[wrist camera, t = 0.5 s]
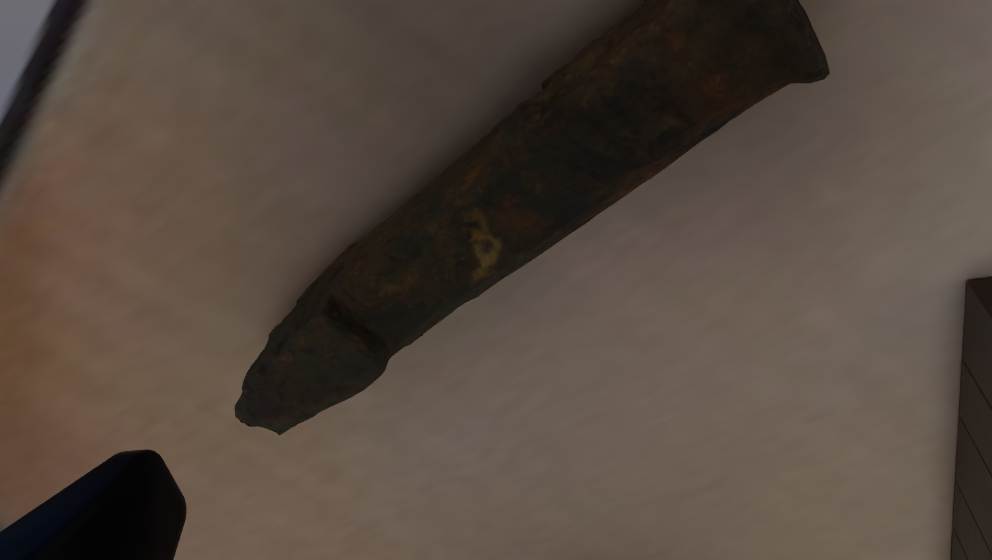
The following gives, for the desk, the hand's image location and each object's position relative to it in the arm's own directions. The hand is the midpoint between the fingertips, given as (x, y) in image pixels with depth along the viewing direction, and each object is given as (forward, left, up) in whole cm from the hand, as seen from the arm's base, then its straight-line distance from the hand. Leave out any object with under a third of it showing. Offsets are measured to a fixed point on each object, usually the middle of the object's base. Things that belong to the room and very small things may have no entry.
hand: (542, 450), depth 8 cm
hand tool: (-4, +3, -14) cm, 15 cm away
